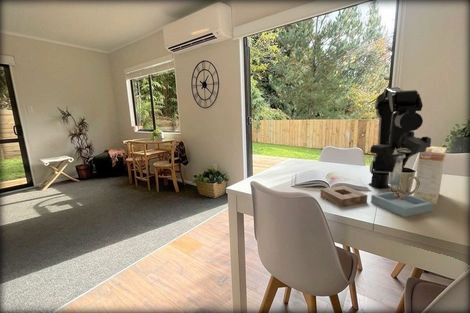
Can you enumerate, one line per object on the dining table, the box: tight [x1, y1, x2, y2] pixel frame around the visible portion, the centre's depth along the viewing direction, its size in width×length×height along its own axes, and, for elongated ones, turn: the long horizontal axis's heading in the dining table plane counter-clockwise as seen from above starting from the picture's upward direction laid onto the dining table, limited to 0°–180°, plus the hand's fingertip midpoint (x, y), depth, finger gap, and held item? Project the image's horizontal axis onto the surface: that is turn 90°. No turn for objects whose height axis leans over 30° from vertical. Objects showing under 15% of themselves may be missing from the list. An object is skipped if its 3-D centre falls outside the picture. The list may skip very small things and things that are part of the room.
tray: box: [370, 191, 435, 218], centre depth 82 cm, size 13×13×3 cm
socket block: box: [320, 185, 368, 208], centre depth 91 cm, size 12×12×3 cm
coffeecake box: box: [413, 145, 447, 205], centre depth 88 cm, size 15×7×20 cm, turn 134°
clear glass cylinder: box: [388, 152, 406, 186], centre depth 81 cm, size 5×5×11 cm
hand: (395, 171), depth 81 cm, fingers closed on clear glass cylinder, 4 cm apart
